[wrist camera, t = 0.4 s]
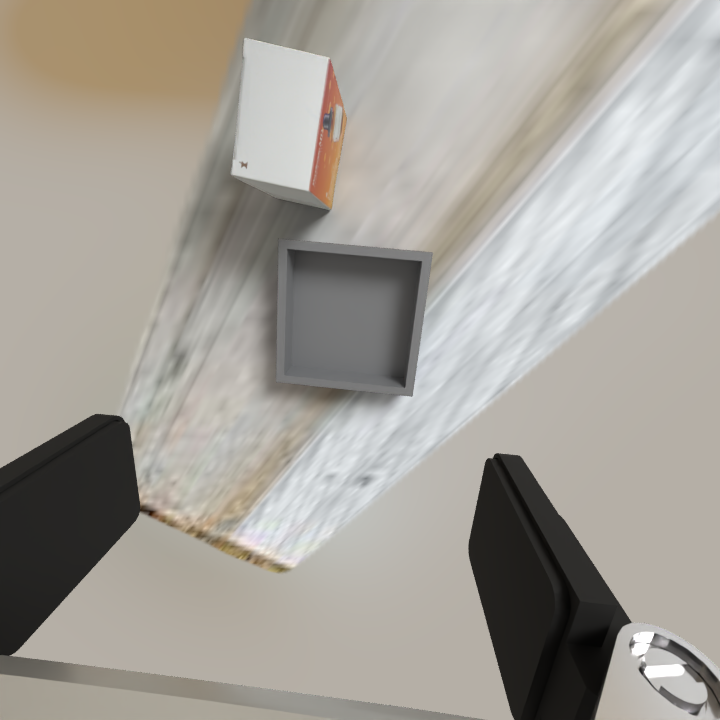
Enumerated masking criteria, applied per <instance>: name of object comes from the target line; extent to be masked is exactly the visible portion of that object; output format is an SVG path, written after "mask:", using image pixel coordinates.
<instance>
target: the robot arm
mask: <svg viewBox="0 0 720 720" xmlns="http://www.w3.org/2000/svg"><path fill="white" fill-rule="evenodd" d="M139 512H140V501H139V493H138V486H137V478H136V471H135V464H134V456H133V449H132V441H131V434H130V428H129V425H128V424H127V423H126V422H125V421H124V420H123V418H122V417H120V416H114V415H103V414H95V415H92V416H90V417H89V418H87V419H85V420H84V421H82V422H80V423H78V424H77V425H75V426H73V427H71V428H70V429H68V430H66V431H64V432H63V433H61V434H59V435H58V436H56V437H54V438H52V439H50V440H49V441H47V442H45V443H43V444H42V445H40V446H38V447H37V448H35V449H33V450H31V451H30V452H28V453H26V454H24V455H23V456H21V457H19V458H18V459H16V460H14V461H12V462H10V463H9V464H7V465H6V466H3V467H2V468H0V720H483V719H477V718H470V717H464V716H458V715H451V714H445V713H438V712H432V711H425V710H419V709H413V708H406V707H398V706H391V705H383V704H376V703H369V702H361V701H354V700H347V699H339V698H332V697H324V696H316V695H310V694H302V693H295V692H287V691H280V690H273V689H265V688H257V687H250V686H242V685H235V684H227V683H219V682H212V681H204V680H196V679H188V678H181V677H173V676H165V675H157V674H150V673H142V672H134V671H126V670H118V669H110V668H102V667H95V666H87V665H78V664H71V663H63V662H54V661H46V660H38V659H30V658H21V657H13V656H10V655H12V654H13V653H15V652H16V651H17V650H18V649H19V648H20V647H21V646H22V645H23V644H24V643H25V642H26V641H27V640H28V639H29V637H30V636H31V635H32V634H33V633H34V632H35V631H36V630H37V629H38V627H40V625H41V624H42V623H43V622H44V621H45V620H46V619H47V618H48V617H49V616H50V614H51V613H52V612H53V611H54V610H55V609H56V608H57V607H58V606H59V605H60V603H61V602H62V601H63V600H64V599H65V598H66V597H67V596H68V595H69V593H70V592H71V591H72V590H73V589H74V588H75V587H76V586H77V585H78V583H80V581H81V580H82V579H83V578H84V577H85V576H86V575H87V574H88V573H89V572H90V571H91V569H92V568H93V567H94V566H95V565H96V564H97V563H98V561H100V560H101V558H102V557H103V556H104V555H105V554H106V553H107V552H108V551H109V550H110V548H111V547H112V546H113V545H114V544H115V543H116V542H117V541H118V540H119V539H120V537H121V536H122V535H123V534H124V533H125V532H126V531H127V530H128V529H129V528H130V527H131V525H132V524H133V523H134V522H135V521H136V519H137V517H138V515H139ZM469 558H470V562H471V566H472V570H473V574H474V577H475V581H476V585H477V588H478V592H479V596H480V599H481V603H482V607H483V610H484V614H485V617H486V621H487V625H488V629H489V632H490V636H491V640H492V643H493V647H494V651H495V655H496V658H497V662H498V666H499V669H500V673H501V677H502V680H503V684H504V688H505V691H506V695H507V699H508V702H509V706H510V710H511V713H512V716H513V718H514V720H720V669H719V668H718V667H717V666H716V665H715V664H714V663H713V662H712V661H711V660H710V659H709V658H707V657H706V656H705V655H704V654H703V653H702V652H700V650H698V649H697V648H695V647H694V646H692V645H691V644H690V643H688V642H687V641H685V640H684V639H682V638H681V637H679V636H677V635H675V634H673V633H671V632H669V631H667V630H665V629H663V628H661V627H657V626H654V625H650V624H647V623H632V622H631V621H630V619H629V617H628V616H627V615H626V613H625V611H624V610H623V608H622V607H621V605H620V604H619V602H618V601H617V599H616V598H615V596H614V595H613V593H612V592H611V590H610V589H609V587H608V586H607V584H606V583H605V581H604V580H603V578H602V577H601V575H600V573H599V572H598V570H597V569H596V567H595V566H594V564H593V563H592V561H591V560H590V558H589V557H588V555H587V554H586V552H585V551H584V549H583V548H582V546H581V545H580V543H579V541H578V540H577V539H576V537H575V535H574V534H573V532H572V531H571V529H570V528H569V526H568V525H567V523H566V522H565V520H564V519H563V518H562V517H561V516H560V515H559V514H558V513H557V511H556V510H555V508H554V507H553V505H552V504H551V502H550V500H549V499H548V497H547V496H546V494H545V493H544V491H543V490H542V488H541V487H540V485H539V484H538V482H537V481H536V479H535V478H534V476H533V474H532V473H531V471H530V470H529V468H528V467H527V465H526V464H525V462H524V461H523V459H522V458H521V457H520V456H518V455H509V454H499V453H497V454H495V455H494V457H493V459H490V458H488V459H487V460H486V462H485V467H484V471H483V476H482V481H481V486H480V491H479V496H478V501H477V506H476V510H475V515H474V520H473V525H472V530H471V535H470V539H469Z"/></svg>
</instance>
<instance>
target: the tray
mask: <svg viewBox="0 0 720 720" xmlns="http://www.w3.org/2000/svg"><path fill="white" fill-rule="evenodd" d="M432 255H433V253H432V252H421V251H410V250H399V249H388V248H377V247H366V246H355V245H344V244H333V243H322V242H311V241H300V240H289V239H278V292H277V348H276V382H280V383H289V384H299V385H308V386H317V387H327V388H336V389H346V390H355V391H365V392H374V393H384V394H393V395H403V396H413V389H414V382H415V375H416V368H417V361H418V354H419V346H420V339H421V332H422V325H423V318H424V311H425V304H426V297H427V290H428V283H429V276H430V269H431V262H432Z"/></svg>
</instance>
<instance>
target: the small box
mask: <svg viewBox="0 0 720 720" xmlns="http://www.w3.org/2000/svg"><path fill="white" fill-rule="evenodd" d="M346 121H347V117H346V113H345V110H344V106H343V102H342V99H341V95H340V92H339V89H338V85H337V81H336V77H335V74H334V70H333V67H332V63H331V60H330V58H329V57H325V56H321V55H317V54H313V53H309V52H304V51H300V50H296V49H292V48H288V47H283V46H279V45H275V44H271V43H266V42H262V41H258V40H253V39H249V38H244V39H243V54H242V71H241V82H240V94H239V104H238V115H237V125H236V135H235V145H234V153H233V159H232V167H231V176H233V177H234V178H236V179H238V180H240V181H242V182H244V183H246V184H248V185H251V186H253V187H255V188H257V189H259V190H261V191H263V192H265V193H267V194H269V195H271V196H273V197H274V198H278V199H283V200H287V201H291V202H296V203H300V204H305V205H309V206H313V207H318V208H322V209H327V210H331V209H332V202H333V195H334V188H335V182H336V176H337V171H338V165H339V160H340V155H341V149H342V143H343V137H344V132H345V126H346Z"/></svg>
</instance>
